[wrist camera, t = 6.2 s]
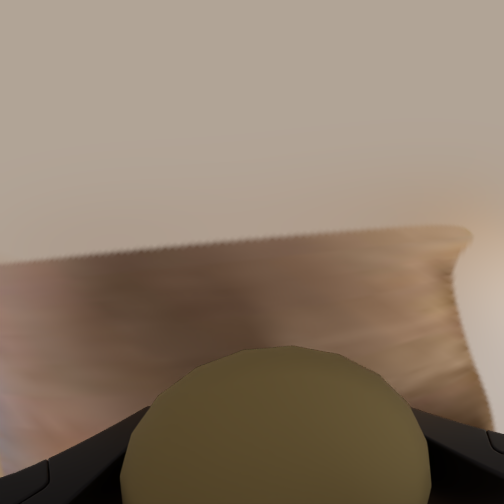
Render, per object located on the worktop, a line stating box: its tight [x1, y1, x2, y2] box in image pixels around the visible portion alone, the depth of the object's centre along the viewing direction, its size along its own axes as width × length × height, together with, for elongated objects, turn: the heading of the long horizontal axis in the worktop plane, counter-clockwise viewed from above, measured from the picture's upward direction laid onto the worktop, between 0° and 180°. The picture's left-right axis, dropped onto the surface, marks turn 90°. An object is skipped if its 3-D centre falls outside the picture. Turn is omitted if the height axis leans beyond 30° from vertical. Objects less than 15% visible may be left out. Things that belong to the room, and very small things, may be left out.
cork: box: [120, 346, 431, 504], centre depth 8 cm, size 6×6×11 cm
